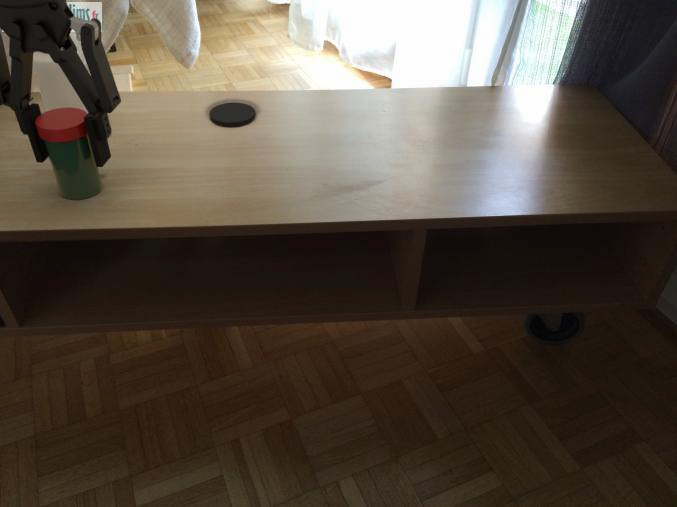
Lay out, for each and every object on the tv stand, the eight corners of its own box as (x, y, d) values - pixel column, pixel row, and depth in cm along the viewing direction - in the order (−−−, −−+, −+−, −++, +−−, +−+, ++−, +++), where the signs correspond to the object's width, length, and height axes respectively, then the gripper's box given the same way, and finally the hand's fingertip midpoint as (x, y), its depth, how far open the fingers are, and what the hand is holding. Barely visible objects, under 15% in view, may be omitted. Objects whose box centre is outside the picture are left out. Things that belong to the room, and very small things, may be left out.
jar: (52, 198, 77) (30, 130, 71) (71, 176, 81) (52, 110, 75) (92, 201, 76) (73, 133, 70) (109, 179, 80) (93, 113, 74)
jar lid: (28, 140, 71) (24, 127, 70) (52, 118, 76) (49, 105, 75) (77, 144, 71) (74, 131, 70) (98, 121, 75) (95, 109, 74)
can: (103, 116, 94) (85, 38, 87) (76, 134, 89) (54, 54, 82) (68, 109, 96) (48, 32, 88) (40, 126, 91) (15, 46, 83)
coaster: (204, 125, 93) (204, 120, 92) (216, 105, 98) (216, 100, 98) (249, 128, 92) (249, 124, 92) (259, 108, 98) (259, 103, 97)
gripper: (-102, -38, 59) (-19, 168, 73) (96, -27, 58) (140, 181, 72) (-54, -55, 65) (14, 139, 79) (126, -46, 63) (162, 150, 78)
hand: (74, 159), depth 76 cm, fingers open, 7 cm apart
